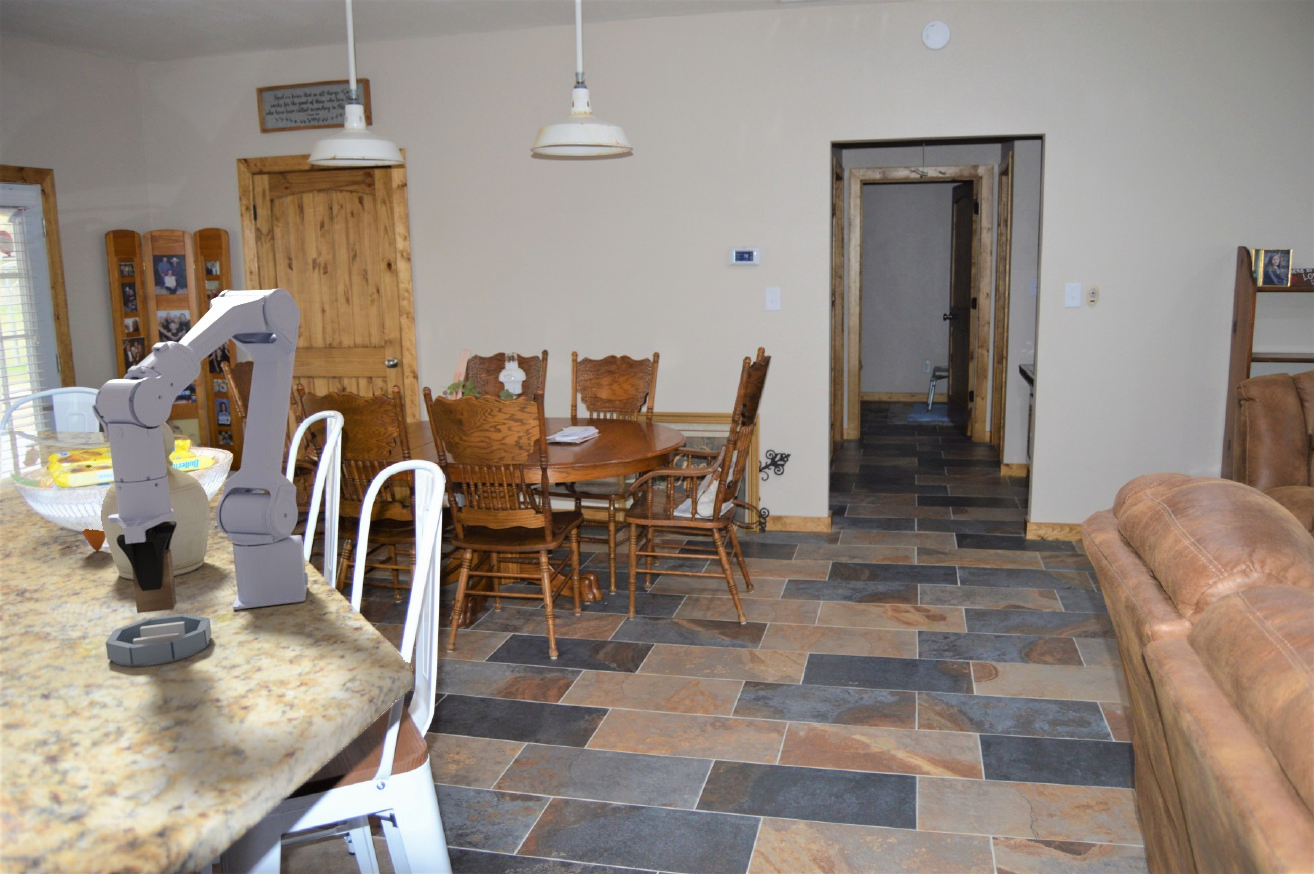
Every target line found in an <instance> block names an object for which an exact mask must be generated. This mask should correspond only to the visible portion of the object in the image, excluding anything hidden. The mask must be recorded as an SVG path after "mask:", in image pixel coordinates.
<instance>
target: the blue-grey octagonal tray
mask: <svg viewBox="0 0 1314 874" xmlns="http://www.w3.org/2000/svg"><path fill="white" fill-rule="evenodd" d="M211 636H212V627H211V619H210V617H206V616H201V615H196V614H195V615H194V614H191V613H180V614H171V615H170V614H169V615H163V616H162V615H161V616H155V617H154V616H153V617H148V618H145V619H141V620H138V621H135V622H133V623H129V624H127V625H124V626H121V627H119V628H116V629H115V630H112V632H111V634H110V635H109V636H108V638H107V640H106V641H105V646H106V654H107V659H108V660H109V661H112V663H113V664H116V665H118V666H122V667H134V668H138V667H151V666H160V665H163V664H169V663H174V662H176V661H180V660H184V659H186V658H189V657H191V656H194V655H196V654H198V653H200V652H202V651H203V650H205V649H207V647H208V646H209V645H210V642H211V640H210V639H211Z"/></svg>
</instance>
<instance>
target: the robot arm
mask: <svg viewBox="0 0 1314 874" xmlns="http://www.w3.org/2000/svg"><path fill="white" fill-rule="evenodd" d="M300 319H301V311H300V308H299V306H298V304H297V303H296V301H295V299H294V298H293V296H292V294H291V293H290V292H289V291H288V290H287V289H284V288H279V287H278V288H273V289H259V290H258V289H255V290H249V289H248V290H233V289H225V290H223V291H221V292H220V293H219V294H218V295H217V297H215V298H213V299H211V300H210V302H209V310H208V311H206V313H205V314H203V316H202V317H201V318H200V319H199V320H198V321H197V322H196V323H195V324H194V326H192V328H191V329H190V330H189V331H187V333H185V335H183V337H182V338H181V339H180V340H179V341H178V342H177V341H165V342H156V343H155V344H154V345H153V346H151V351H152V352H151V353H149V354H148V355H147V356H146V357H145V358H143V360H141V361H140V362H139V363H138V364H136V365H132V366H131V367H129V368H128V369H127V373H125V375H124V376H123V377H122V378H116V379H110V380H108V381H107V382H105V383H104V384H103V385H102V386H101V388H99V389H98V391H97V393H96V395H95V400H94V401H95V403H94V404H92V405H91V407H92V408H91V409H92V412H93V414H94V416H95V418H96V419H97V421H98V422H99V423H100V424H101V425H102V427H103V431H104V432H103V434H104V438H106V439H107V441H109V448H110V449H109V450H110V456H111V464H112V465H111V466H112V473H113V481H114V483H115V490H116V498H117V506H118V514H113V515H110V516H109V517H108V523H118V524H119V525H120V526H121V527H122V528H123V529H124V534H123V535H119V536H118V537H117V544H118V546H119V547H120V548H121V549H122V551H123V552H124V553H125V555H126V556H127V558H128V559H129V561H130V563H131V565H132V567H133V570H134V573H135V575H136V578H137V581H138V583H139V586H140V588H141V590H142V591H148V590H157V589H161V586H162V580H163V561H164V553H165V550H168V549H169V548H170V543H171V539H172V536H173V533H174V531H175V528H176V526H177V523H176V522H175V521H166V520H169V519H171V518H172V517H173V516H174V512H173V509H172V508H171V502H170V493H169V485H168V476H167V467H166V458H165V450H164V441H163V432H162V423H163V422H165V423H166V422H168V421H167V420H168V419H169V418H170V415H171V412H172V408H173V404H174V402H175V401H176V398H177V397H178V396H179V395H180V394H181V393H182V392H183V391H184V390H185V389H186V388H187V387H188V386H190V385H191V384H192V383H193V382H194V381H195V380H196V379H197V378H198V377H199V376H200V374H201V371H202V370H201V368H202V365H201V362H202V361H203V360H204V359H205V358H207V357H208V356H210V354H213V352H214V351H216V350H217V349H219V347H221V346H222V345H223V344H224V343H226V342H227V341H228V340H231V341H232V342H234V344H235V345H236V346H237V347H239V348H240V350H242V351H243V352H246V353H248V354H249V356H250V358H251V359H252V360H253V367H252V375H251V384H250V391H249V397H248V398H249V399H248V406H247V407H248V408H247V414H246V424H245V430H244V431H245V432H244V438H243V446H242V447H243V448H242V454H241V462H240V469H238V471H237V472H235V473H234V474H232V475H231V476H230V477H229V478H228V479H227V480H225V482H224V484H223V485H224V487H223V492H222V495H221V497H220V499H219V501H218V503H217V505H216V509H215V510H216V511H215V519H216V520H215V521H216V524H217V527H218V528H219V530H220V532H222V533H223V534H225V535H226V539H227V542H232V553H233V562H234V569H235V570H234V571H235V581H236V588H237V589H236V590H237V591H236V592H237V593H236V596H235V599H234V602H233V604H232V610H236V611H237V610H242V609H243V610H245V609H250V608H251V609H252V608H260V607H267V606H268V607H269V606H276V605H284V604H292V603H302V602H305V601H306V598H307V588H308V585H309V577H308V572H306V563H305V554H304V553H305V552H304V550H305V549H304V543H303V537H302V535H301V534H298V535H297V534H296V535H294V534H293V535H292V533H293V531H294V529H295V528H296V525H297V522H298V517H299V508H298V506H297V499H296V498H297V497H296V496H297V486H296V485H295V484H294V483H293V482H291V481H290V480H289V478H287V477H286V476H285V475H284V474H283V473H282V468H283V459H284V452H285V442H286V434H287V426H288V425H287V424H288V417H289V409H290V402H291V401H290V400H291V391H292V384H293V378H294V377H293V376H294V375H293V374H294V367H295V359H296V350H297V346H298V336H299V329H300ZM255 491H261V492H255ZM262 491H266V492H269V493H265V492H263V493H262ZM164 521H166V522H164Z"/></svg>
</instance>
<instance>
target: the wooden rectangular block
mask: <svg viewBox="0 0 1314 874" xmlns="http://www.w3.org/2000/svg"><path fill="white" fill-rule="evenodd" d="M132 571H133V580H132V581H133V586H134V588H133V589H134V596H135V605H136V606H135V607H136V614H140V613H151V612H160V611H169V610H174V609H175V607H176V605H177V597H176V596H177V595H176V586H175V585H176V584H175V578H174V577H175V576H174V575H173V565H172V555H171V549H168V550H165V553H164V561H163V580H162V586H161V589H157V590H148V591H142V590H141V588H140V586H139V583H138V581H137V578H136V575H135V573H134V570H133V567H132Z"/></svg>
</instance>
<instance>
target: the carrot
mask: <svg viewBox="0 0 1314 874" xmlns="http://www.w3.org/2000/svg"><path fill="white" fill-rule="evenodd" d="M86 467H87V468H90V467H92V468H93V466H92V465H91V464H86V465H85V468H86ZM81 532H82V534H83V536H84V538H85V540H86V541H87V543H88V544H89V545H90V546H91V548H92V549H93V550H95V551H96V552H99V551H100V550H101V549H102V547H103V544H104V543H105V540H106V536H105V533H104V531H99V530H93V529H92V530H89V529H85V530H84V531H82V530H81Z"/></svg>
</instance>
